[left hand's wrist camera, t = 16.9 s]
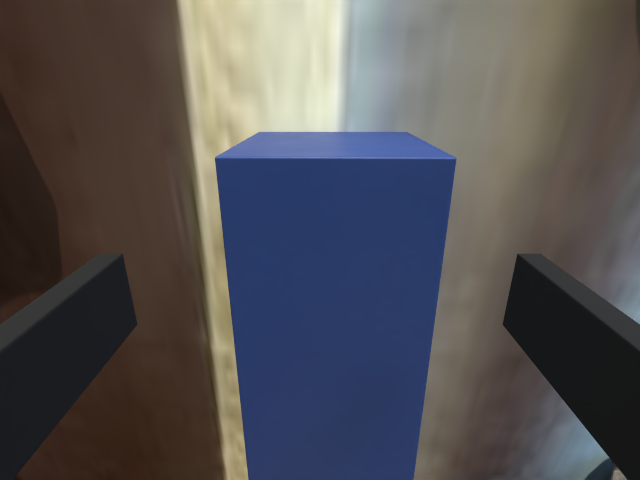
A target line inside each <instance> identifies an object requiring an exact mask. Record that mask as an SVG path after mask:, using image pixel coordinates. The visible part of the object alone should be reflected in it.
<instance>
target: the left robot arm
mask: <svg viewBox="0 0 640 480" xmlns="http://www.w3.org/2000/svg"><path fill="white" fill-rule="evenodd" d="M136 325H137V321H136V316H135V311H134V306H133V302H132V297H131V292H130V287H129V282H128V278H127V273H126V268H125V263H124V258H123V254H99V255H97V256H96V257H94V258H93V259H92V260H90V261H89V262H87V263H86V264H85V265H83V266H82V267H80V268H79V269H78V270H76V271H75V272H73V273H72V274H71V275H69V276H68V277H66V278H65V279H64V280H62V281H61V282H59V283H58V284H57V285H55V286H54V287H52V288H51V289H50V290H48V291H47V292H45V293H44V294H42V295H41V296H40V297H38V298H37V299H35V300H34V301H33V302H31V303H30V304H28V305H27V306H26V307H24V308H23V309H21V310H20V311H19V312H17V313H16V314H14V315H13V316H12V317H10V318H9V319H7V320H6V321H5V322H3V323H2V324H0V480H15V479H14V477H15V476H16V475H17V474H18V472H19V471H20V470H21V469H22V467H23V466H24V465H25V464H26V462H27V461H28V460H29V459H30V457H31V456H32V455H33V454H34V453H35V451H36V450H37V449H38V448H39V446H40V445H41V444H42V443H43V441H44V440H45V439H46V438H47V436H48V435H49V434H50V433H51V431H52V430H53V429H54V428H55V426H56V425H57V424H58V423H59V421H60V420H61V419H62V418H63V416H64V415H65V414H66V413H67V411H68V410H69V409H70V408H71V406H72V405H73V404H74V403H75V401H76V400H77V399H78V398H79V396H80V395H81V394H82V393H83V391H84V390H85V389H86V388H87V386H88V385H89V384H90V383H91V381H92V380H93V379H94V378H95V377H96V375H97V374H98V373H99V372H100V370H101V369H102V368H103V367H104V365H105V364H106V363H107V362H108V360H109V359H110V358H111V357H112V355H113V354H114V353H115V352H116V350H117V349H118V348H119V347H120V345H121V344H122V343H123V342H124V340H125V339H126V338H127V337H128V335H129V334H130V333H131V332H132V330H133V329H134V328H135V327H136ZM503 325H504V327H505V328H506V329H507V330H508V332H509V333H510V334H511V335H512V337H513V338H514V339H515V340H516V342H517V343H518V344H519V345H520V347H521V348H522V349H523V350H524V352H525V353H526V354H527V355H528V357H529V358H530V359H531V360H532V362H533V363H534V364H535V365H536V367H537V368H538V369H539V370H540V372H541V373H542V374H543V375H544V377H545V378H546V379H547V380H548V381H549V383H550V384H551V385H552V386H553V388H554V389H555V390H556V391H557V393H558V394H559V395H560V396H561V398H562V399H563V400H564V401H565V403H566V404H567V405H568V406H569V408H570V409H571V410H572V411H573V413H574V414H575V415H576V416H577V418H578V419H579V420H580V421H581V423H582V424H583V425H584V426H585V428H586V429H587V430H588V431H589V433H590V434H591V435H592V436H593V438H594V439H595V440H596V441H597V443H598V444H599V445H600V446H601V448H602V449H603V450H604V451H605V453H606V454H607V455H608V456H609V457H610V459H611V460H612V461H613V462H614V464H615V465H616V466H617V467H618V469H619V470H620V471H621V472H622V474H623V475H624V476H625V477H626V479H627V480H640V324H638V323H637V322H635V321H634V320H633V319H631V318H630V317H628V316H627V315H626V314H624V313H623V312H621V311H620V310H619V309H617V308H616V307H614V306H613V305H612V304H610V303H609V302H607V301H606V300H605V299H603V298H602V297H600V296H599V295H598V294H596V293H595V292H593V291H592V290H590V289H589V288H588V287H586V286H585V285H583V284H582V283H581V282H579V281H578V280H576V279H575V278H574V277H572V276H571V275H569V274H568V273H567V272H565V271H564V270H562V269H561V268H560V267H558V266H557V265H555V264H554V263H553V262H551V261H550V260H548V259H547V258H546V257H544V256H543V255H541V254H517V258H516V263H515V268H514V273H513V278H512V282H511V287H510V292H509V297H508V302H507V306H506V311H505V316H504V321H503Z"/></svg>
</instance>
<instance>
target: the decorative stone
mask: <svg viewBox="0 0 640 480" xmlns="http://www.w3.org/2000/svg"><path fill="white" fill-rule="evenodd" d="M612 463H613V466H614V469H613V470H612V474H611V478H610V480H627V479H626V477H625V476H624V475H623V474H622V472H621V471H620V470H619V469H618V467H617V466H616V465H615V464H614V462H613V461H612Z"/></svg>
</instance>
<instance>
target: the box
mask: <svg viewBox="0 0 640 480" xmlns="http://www.w3.org/2000/svg"><path fill="white" fill-rule="evenodd" d="M215 162H216V172H217V181H218V191H219V201H220V210H221V220H222V229H223V239H224V248H225V258H226V267H227V277H228V287H229V296H230V306H231V315H232V325H233V334H234V344H235V354H236V363H237V373H238V382H239V392H240V401H241V411H242V420H243V430H244V440H245V449H246V459H247V468H248V478H249V480H413V478H414V471H415V464H416V456H417V449H418V441H419V434H420V426H421V419H422V411H423V404H424V396H425V389H426V381H427V374H428V366H429V359H430V352H431V344H432V337H433V329H434V322H435V314H436V307H437V299H438V292H439V284H440V277H441V269H442V262H443V254H444V247H445V240H446V232H447V225H448V217H449V210H450V202H451V195H452V187H453V180H454V172H455V165H456V158H455V157H453V156H452V155H450V154H448V153H446V152H444V151H442V150H440V149H438V148H436V147H434V146H432V145H431V144H429V143H427V142H425V141H423V140H421V139H419V138H417V137H415V136H413V135H411V134H410V133H408V132H259V133H257V134H255V135H253V136H252V137H250V138H248V139H246V140H245V141H243V142H241V143H239V144H237V145H236V146H234V147H232V148H230V149H229V150H227V151H225V152H223V153H222V154H220V155H218V156H216V157H215Z"/></svg>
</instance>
